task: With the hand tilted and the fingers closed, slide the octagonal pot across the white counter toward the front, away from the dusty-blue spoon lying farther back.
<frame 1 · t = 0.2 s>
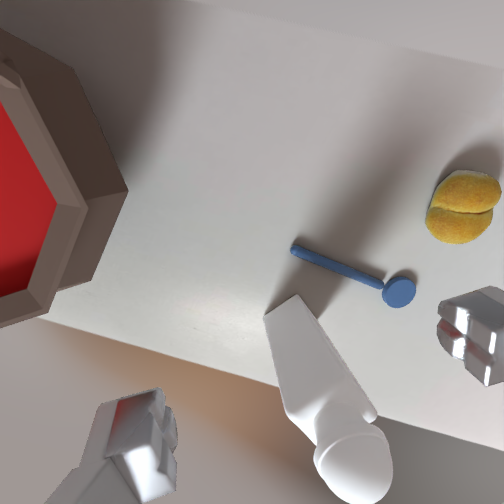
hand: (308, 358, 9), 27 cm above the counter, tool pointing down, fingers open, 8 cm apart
octagonal pot: (16, 167, 30), on the counter
white square bottle: (289, 317, 42), on the counter
spoon: (359, 275, 41), on the counter
bread roll: (452, 203, 39), on the counter
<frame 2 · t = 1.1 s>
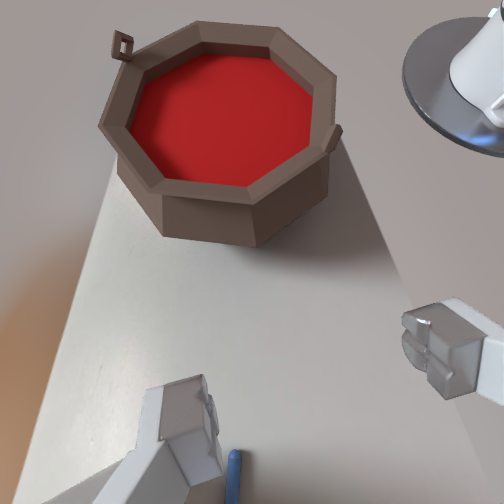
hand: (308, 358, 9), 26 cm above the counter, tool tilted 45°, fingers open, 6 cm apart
octagonal pot: (231, 185, 41), on the counter
white square bottle: (133, 500, 29), on the counter
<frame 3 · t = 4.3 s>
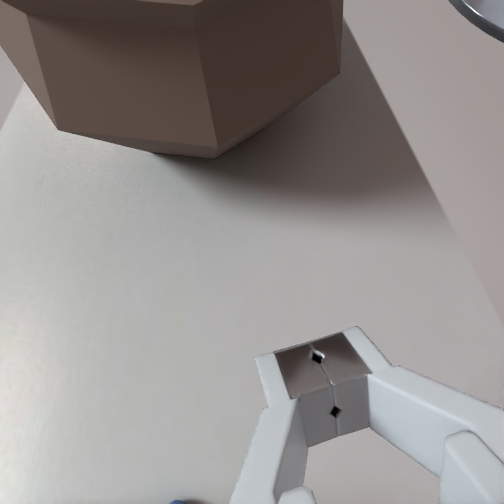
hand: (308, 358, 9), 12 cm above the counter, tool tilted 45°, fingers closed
octagonal pot: (197, 97, 28), on the counter
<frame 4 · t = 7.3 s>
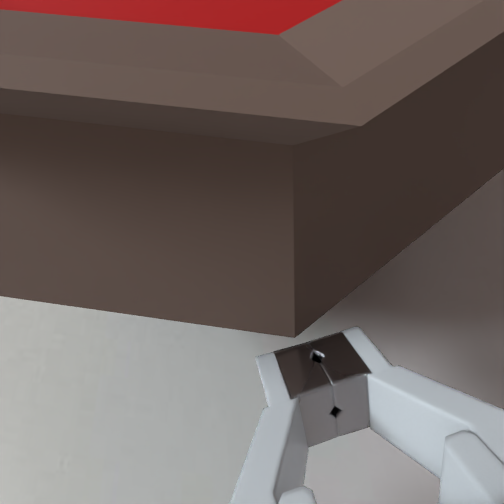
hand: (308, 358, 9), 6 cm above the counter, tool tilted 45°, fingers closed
octagonal pot: (221, 153, 19), on the counter, touching gripper
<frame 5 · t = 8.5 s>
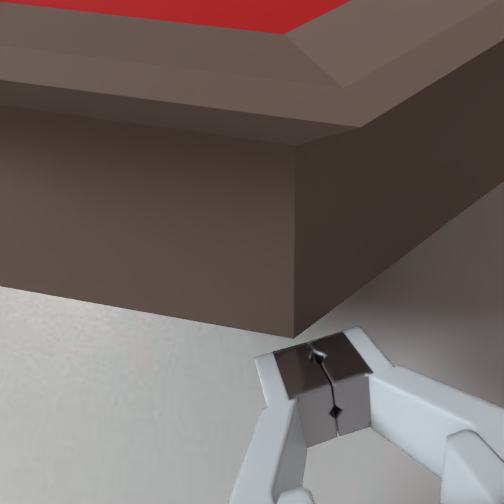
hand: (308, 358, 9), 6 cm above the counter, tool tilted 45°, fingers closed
octagonal pot: (228, 152, 19), on the counter, touching gripper
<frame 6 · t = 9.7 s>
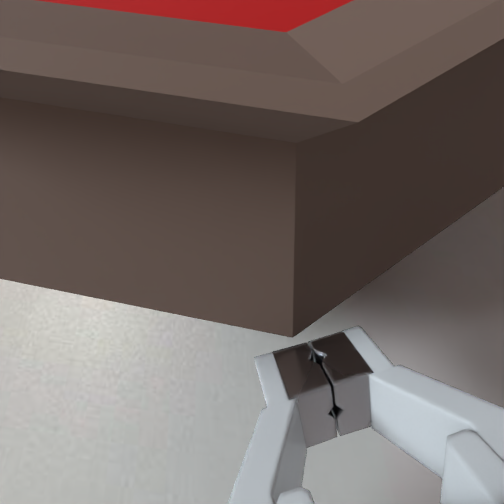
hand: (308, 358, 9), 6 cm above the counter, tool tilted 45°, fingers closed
octagonal pot: (231, 152, 19), on the counter, touching gripper
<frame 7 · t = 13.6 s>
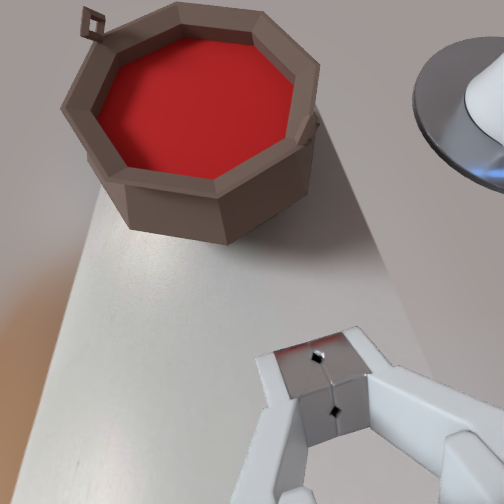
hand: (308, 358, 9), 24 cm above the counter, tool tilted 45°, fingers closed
octagonal pot: (213, 179, 39), on the counter
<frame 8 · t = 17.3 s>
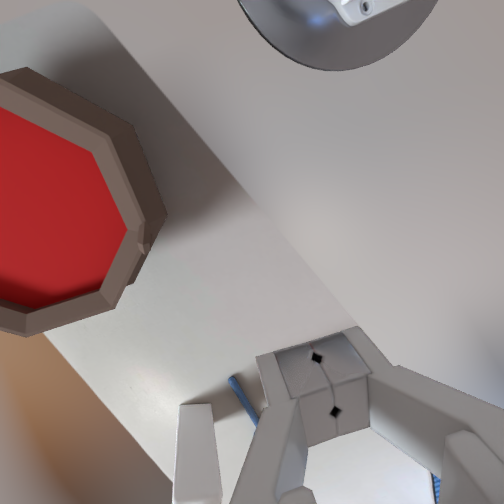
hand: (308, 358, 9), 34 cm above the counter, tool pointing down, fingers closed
octagonal pot: (68, 189, 37), on the counter
white square bottle: (194, 414, 55), on the counter
spoon: (252, 413, 58), on the counter
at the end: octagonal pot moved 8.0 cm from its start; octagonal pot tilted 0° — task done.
